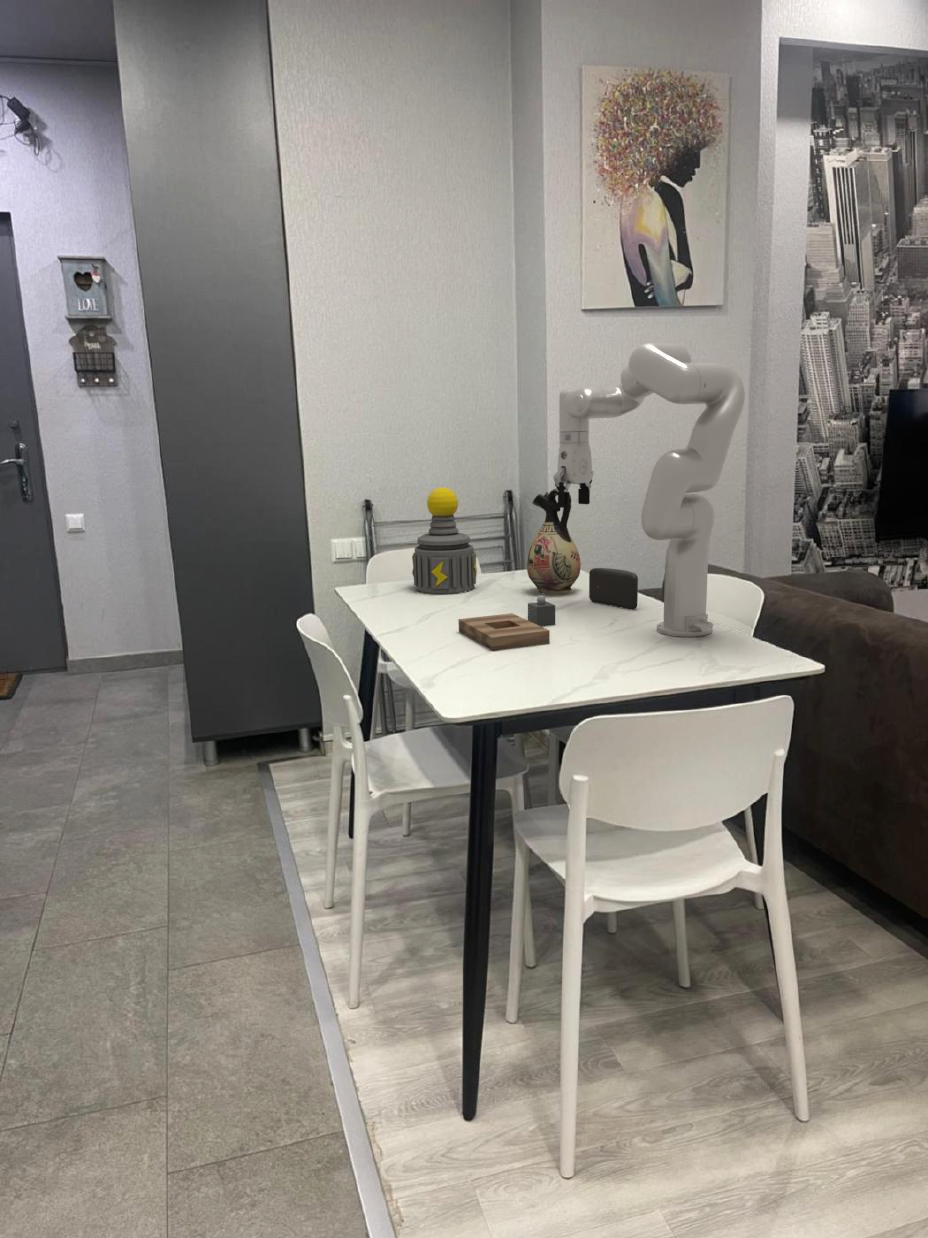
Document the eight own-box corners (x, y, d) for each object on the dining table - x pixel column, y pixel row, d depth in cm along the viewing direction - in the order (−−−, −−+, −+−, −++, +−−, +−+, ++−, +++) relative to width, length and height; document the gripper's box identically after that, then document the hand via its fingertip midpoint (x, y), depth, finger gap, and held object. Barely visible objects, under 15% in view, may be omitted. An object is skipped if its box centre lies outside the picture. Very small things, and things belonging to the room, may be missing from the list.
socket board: (549, 643, 199) (549, 630, 199) (492, 650, 194) (491, 637, 194) (512, 625, 218) (512, 613, 217) (458, 631, 213) (458, 619, 212)
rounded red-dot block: (645, 608, 233) (646, 572, 231) (634, 611, 230) (634, 575, 228) (599, 599, 245) (599, 565, 243) (587, 602, 242) (587, 567, 240)
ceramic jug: (515, 593, 256) (514, 488, 249) (548, 585, 267) (548, 484, 260) (563, 600, 245) (563, 490, 238) (595, 591, 256) (596, 486, 249)
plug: (555, 625, 217) (555, 596, 215) (536, 627, 215) (536, 599, 214) (546, 621, 221) (545, 593, 220) (527, 623, 220) (527, 595, 218)
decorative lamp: (408, 595, 258) (404, 490, 251) (419, 582, 276) (416, 485, 269) (472, 595, 255) (470, 489, 249) (480, 582, 273) (478, 484, 267)
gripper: (568, 440, 220) (568, 509, 224) (604, 437, 233) (603, 503, 237) (542, 440, 225) (543, 508, 228) (579, 437, 238) (579, 502, 241)
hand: (573, 505), depth 233 cm, fingers open, 9 cm apart
